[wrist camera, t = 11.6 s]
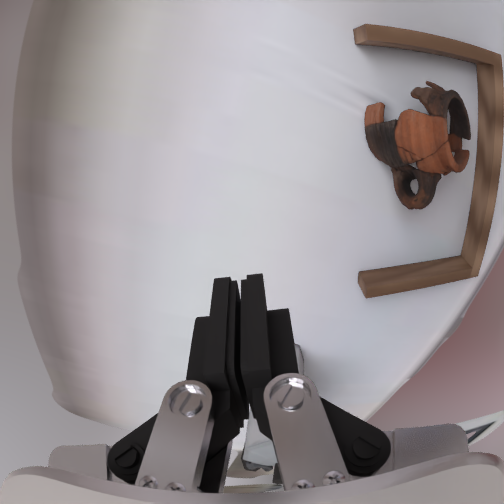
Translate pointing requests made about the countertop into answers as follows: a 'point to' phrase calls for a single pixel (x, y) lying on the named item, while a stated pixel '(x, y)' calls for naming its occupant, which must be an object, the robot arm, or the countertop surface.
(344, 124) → the countertop surface
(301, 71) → the countertop surface
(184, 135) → the countertop surface
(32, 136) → the countertop surface
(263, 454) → the coffee maker
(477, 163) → the frame
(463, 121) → the pottery mug
